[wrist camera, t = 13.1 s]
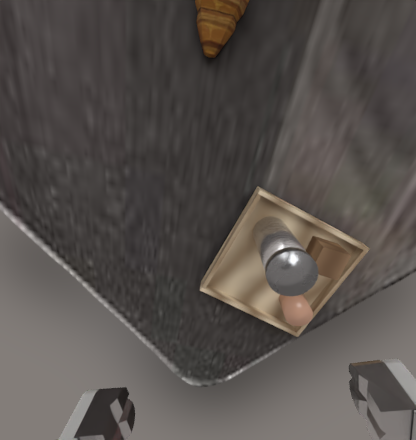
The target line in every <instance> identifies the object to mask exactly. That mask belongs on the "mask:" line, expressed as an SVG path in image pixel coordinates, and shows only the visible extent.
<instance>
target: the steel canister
mask: <svg viewBox="0 0 416 440" xmlns="http://www.w3.org/2000/svg"><path fill="white" fill-rule="evenodd" d="M253 236H254V239H255V242H256V246H257V249H258V252H259V255H260V258H261V261H262V264H263V267H264V270H265V276H266V279H267V282H268V284H269V286H270V287H271V289H272V290H273V291H275V292H276V293H278V294H280V295H283V296H298V295H301V294H304V293H305V292H307V291H309V290H310V289H311V288H312V287H313V286H314V284H315V283H316V281H317V278H318V266H317V264H316V262H315V261H314V259H313V258H312V257H311V255H310V254H309V253H307V252H306V250H305V249H304V248H303V246H302V245H301V244H300V242H299V241H298V240H297V238H296V237H295V236H294V235H293V233H292V232H291V231H290V229H289V228H288V227H287V225H286V224H285V223H284V221H283V220H281V219H280V218H278V217H274V216H269V217H265V218H262V219H261V220H259V221H258V222H257V223H256V225H255V227H254V230H253Z"/></svg>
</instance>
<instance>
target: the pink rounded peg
mask: <svg viewBox="0 0 416 440" xmlns="http://www.w3.org/2000/svg"><path fill="white" fill-rule="evenodd" d="M279 302H280V305H281V308H282V310H283V313H284V316H285V319H286V321H287V322H288V323H289V324H291V325H293V326H303V325H306V324H307V323H309V322H310V321H311V319H312V317H313V311H312V309H311V307H310V305H309V304H308V302H307V300H306V298H305V296H304V294H301V295H298V296H283V295H280V296H279Z"/></svg>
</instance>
